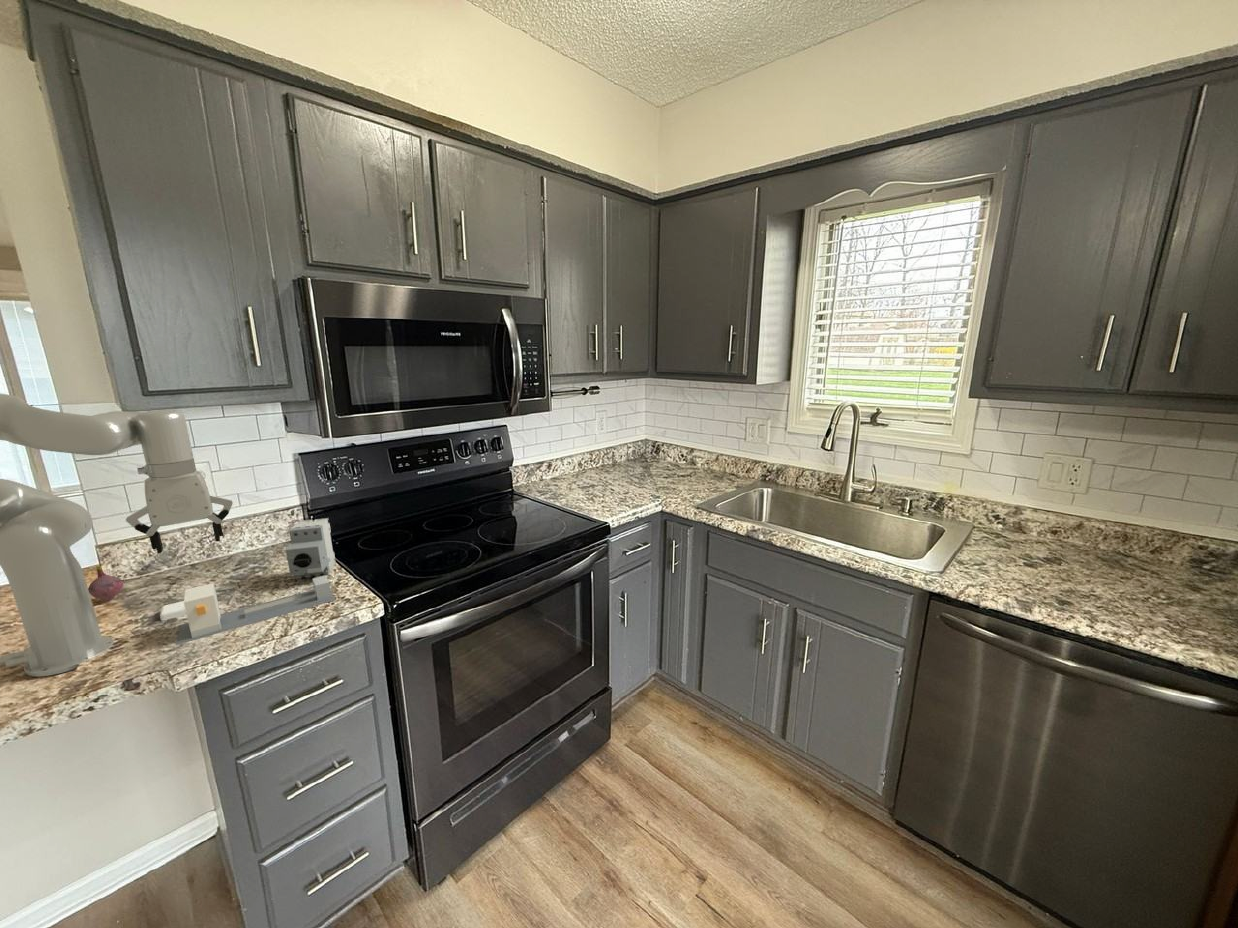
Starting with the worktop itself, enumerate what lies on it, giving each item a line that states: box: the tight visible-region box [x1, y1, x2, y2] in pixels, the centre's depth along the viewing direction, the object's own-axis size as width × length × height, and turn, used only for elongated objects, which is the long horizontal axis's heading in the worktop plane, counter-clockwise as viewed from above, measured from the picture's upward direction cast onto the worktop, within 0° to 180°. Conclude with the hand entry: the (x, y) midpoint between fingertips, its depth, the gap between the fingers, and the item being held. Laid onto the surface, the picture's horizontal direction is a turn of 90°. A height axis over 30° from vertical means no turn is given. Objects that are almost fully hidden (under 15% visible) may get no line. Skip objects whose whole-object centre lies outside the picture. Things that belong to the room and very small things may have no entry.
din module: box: [183, 582, 222, 638], centre depth 110 cm, size 5×9×8 cm, turn 39°
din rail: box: [244, 591, 317, 618], centre depth 120 cm, size 15×2×1 cm, turn 129°
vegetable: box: [88, 564, 124, 602], centre depth 125 cm, size 6×6×10 cm
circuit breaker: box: [285, 517, 336, 579], centre depth 136 cm, size 8×14×15 cm, turn 16°
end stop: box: [312, 575, 332, 600], centre depth 125 cm, size 3×5×4 cm, turn 39°
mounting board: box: [176, 588, 336, 646], centre depth 118 cm, size 30×10×1 cm, turn 129°
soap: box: [159, 600, 187, 621], centre depth 119 cm, size 9×6×3 cm, turn 128°
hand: (190, 545), depth 108 cm, fingers open, 9 cm apart
